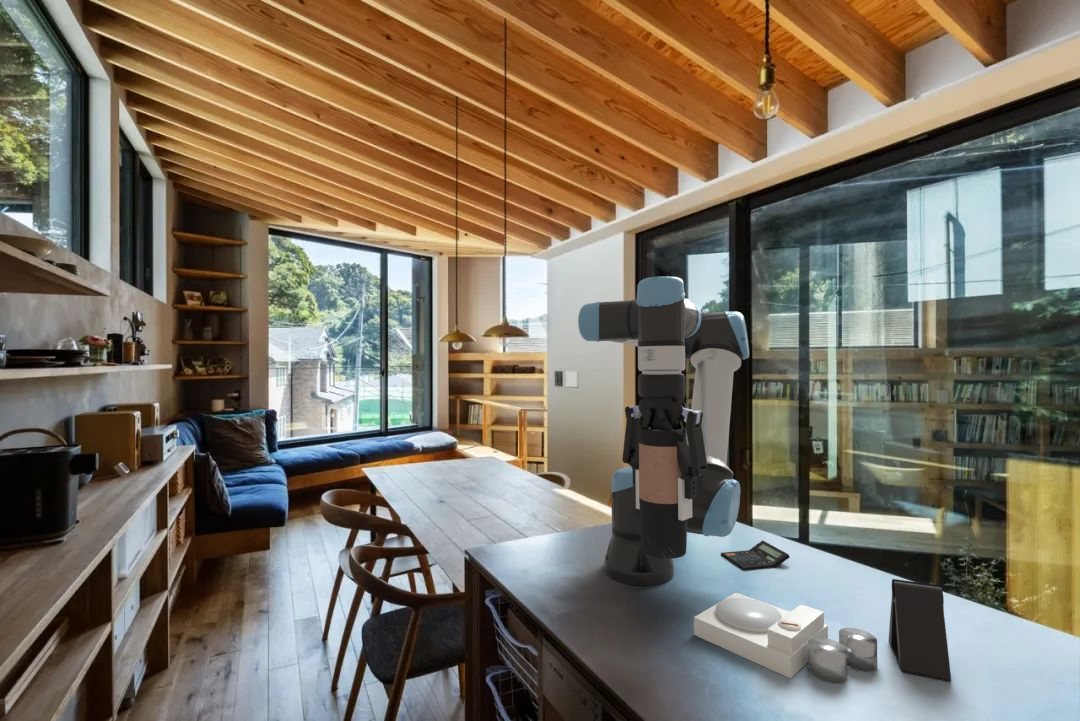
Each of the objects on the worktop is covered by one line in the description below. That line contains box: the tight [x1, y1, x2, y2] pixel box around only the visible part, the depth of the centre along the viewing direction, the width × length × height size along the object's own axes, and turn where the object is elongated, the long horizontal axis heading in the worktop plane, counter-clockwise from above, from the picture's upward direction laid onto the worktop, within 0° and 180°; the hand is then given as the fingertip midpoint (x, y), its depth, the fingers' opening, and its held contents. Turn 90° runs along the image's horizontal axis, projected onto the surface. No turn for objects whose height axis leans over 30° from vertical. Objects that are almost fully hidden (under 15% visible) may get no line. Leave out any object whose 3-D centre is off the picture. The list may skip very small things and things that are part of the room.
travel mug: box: [639, 426, 688, 560], centre depth 83 cm, size 8×8×20 cm
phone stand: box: [888, 578, 952, 683], centre depth 78 cm, size 9×6×12 cm, turn 155°
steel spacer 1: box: [807, 637, 848, 684], centre depth 76 cm, size 5×5×4 cm
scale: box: [693, 592, 829, 679], centre depth 85 cm, size 16×14×6 cm
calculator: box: [720, 539, 791, 571], centre depth 119 cm, size 9×12×3 cm
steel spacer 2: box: [838, 627, 878, 673], centre depth 78 cm, size 5×5×4 cm
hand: (663, 512), depth 83 cm, fingers closed on travel mug, 8 cm apart
